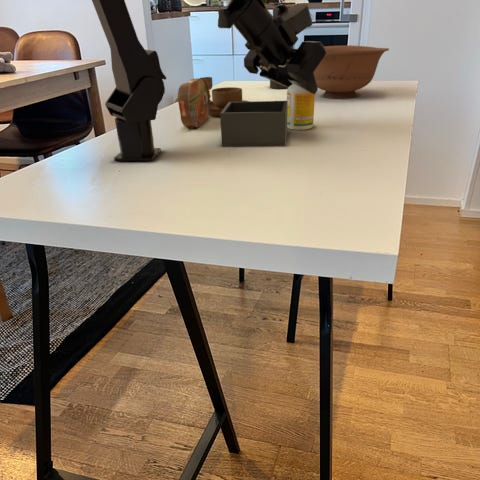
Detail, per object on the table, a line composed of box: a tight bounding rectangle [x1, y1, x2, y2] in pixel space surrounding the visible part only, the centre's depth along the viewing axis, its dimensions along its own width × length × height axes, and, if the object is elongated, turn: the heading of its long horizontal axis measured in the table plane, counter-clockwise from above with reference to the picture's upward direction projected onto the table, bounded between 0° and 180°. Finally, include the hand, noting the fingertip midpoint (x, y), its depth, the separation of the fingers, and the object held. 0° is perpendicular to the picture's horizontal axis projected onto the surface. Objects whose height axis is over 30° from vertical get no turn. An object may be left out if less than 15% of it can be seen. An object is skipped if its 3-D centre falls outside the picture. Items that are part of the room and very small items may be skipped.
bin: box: [219, 100, 288, 147], centre depth 88 cm, size 11×11×6 cm
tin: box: [177, 77, 210, 129], centre depth 100 cm, size 15×3×8 cm, turn 169°
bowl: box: [313, 44, 390, 99], centre depth 122 cm, size 22×22×11 cm
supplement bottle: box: [286, 83, 316, 131], centre depth 93 cm, size 5×5×10 cm
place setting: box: [202, 76, 251, 117], centre depth 113 cm, size 18×20×6 cm
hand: (306, 90), depth 93 cm, fingers closed on supplement bottle, 5 cm apart
